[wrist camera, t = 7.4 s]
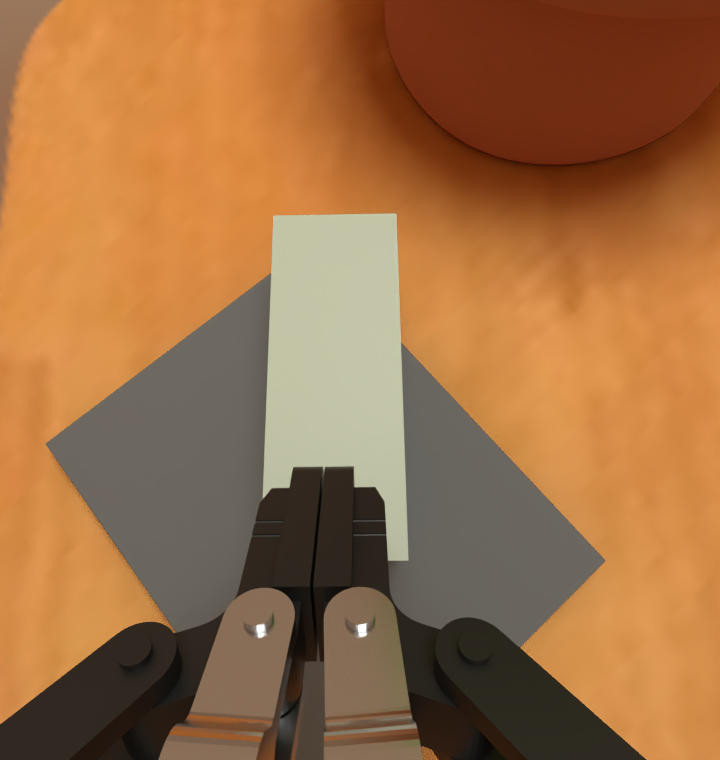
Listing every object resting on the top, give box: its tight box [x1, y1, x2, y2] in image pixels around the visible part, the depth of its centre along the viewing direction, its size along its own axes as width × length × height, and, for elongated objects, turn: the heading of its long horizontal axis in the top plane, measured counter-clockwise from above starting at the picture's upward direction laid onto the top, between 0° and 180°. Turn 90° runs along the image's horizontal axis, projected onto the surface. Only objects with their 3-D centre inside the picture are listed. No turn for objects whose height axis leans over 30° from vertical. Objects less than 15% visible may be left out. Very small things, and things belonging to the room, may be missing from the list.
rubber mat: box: [46, 274, 605, 760], centre depth 21 cm, size 18×14×1 cm
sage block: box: [263, 213, 408, 561], centre depth 20 cm, size 4×4×12 cm
